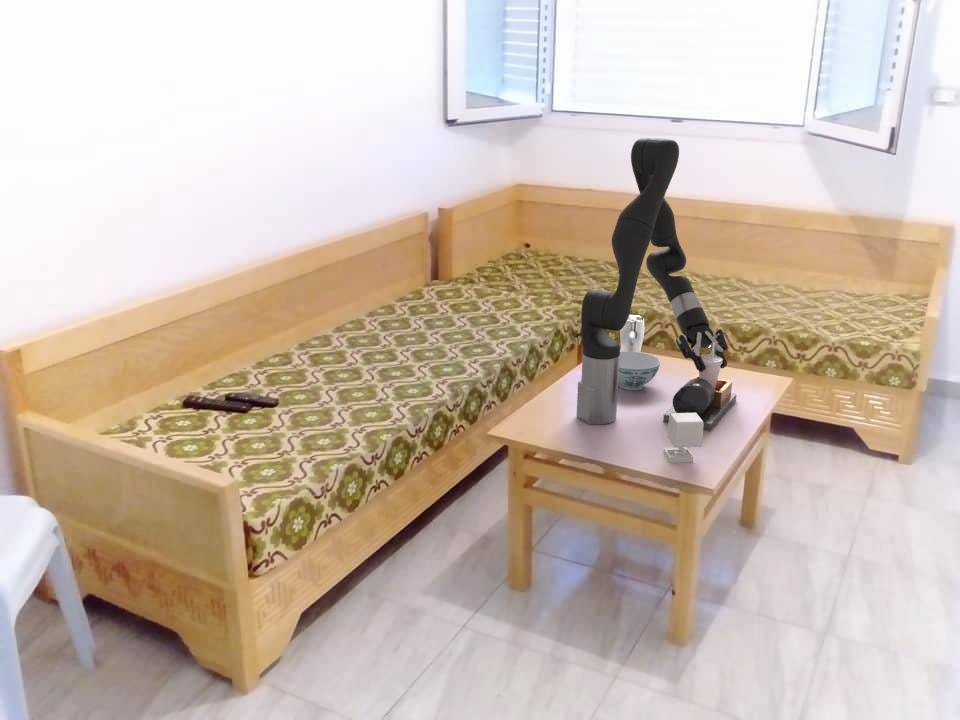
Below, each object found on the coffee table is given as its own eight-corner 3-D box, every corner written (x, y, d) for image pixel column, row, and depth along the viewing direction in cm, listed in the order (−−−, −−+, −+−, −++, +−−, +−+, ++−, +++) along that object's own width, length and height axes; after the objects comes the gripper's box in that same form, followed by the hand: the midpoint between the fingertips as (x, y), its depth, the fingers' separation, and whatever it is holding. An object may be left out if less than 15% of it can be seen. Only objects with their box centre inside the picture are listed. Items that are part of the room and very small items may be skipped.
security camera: (700, 462, 205) (704, 422, 202) (670, 463, 205) (673, 423, 201) (692, 451, 211) (695, 411, 208) (662, 451, 211) (665, 412, 207)
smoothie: (713, 399, 234) (718, 348, 229) (690, 393, 237) (694, 343, 233) (723, 392, 238) (728, 341, 234) (700, 386, 242) (705, 337, 238)
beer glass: (636, 371, 263) (639, 322, 258) (614, 367, 267) (617, 318, 262) (645, 365, 269) (648, 317, 264) (623, 361, 272) (626, 313, 267)
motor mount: (710, 431, 222) (713, 393, 219) (663, 421, 228) (666, 384, 224) (735, 400, 242) (739, 365, 239) (692, 392, 247) (695, 358, 244)
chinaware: (598, 391, 248) (599, 364, 246) (612, 374, 261) (613, 348, 259) (652, 398, 243) (653, 371, 240) (663, 381, 256) (665, 355, 253)
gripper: (673, 309, 234) (698, 366, 228) (718, 303, 240) (743, 358, 234) (660, 323, 241) (683, 379, 234) (703, 317, 246) (727, 371, 240)
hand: (713, 368), depth 234 cm, fingers closed on smoothie, 6 cm apart
